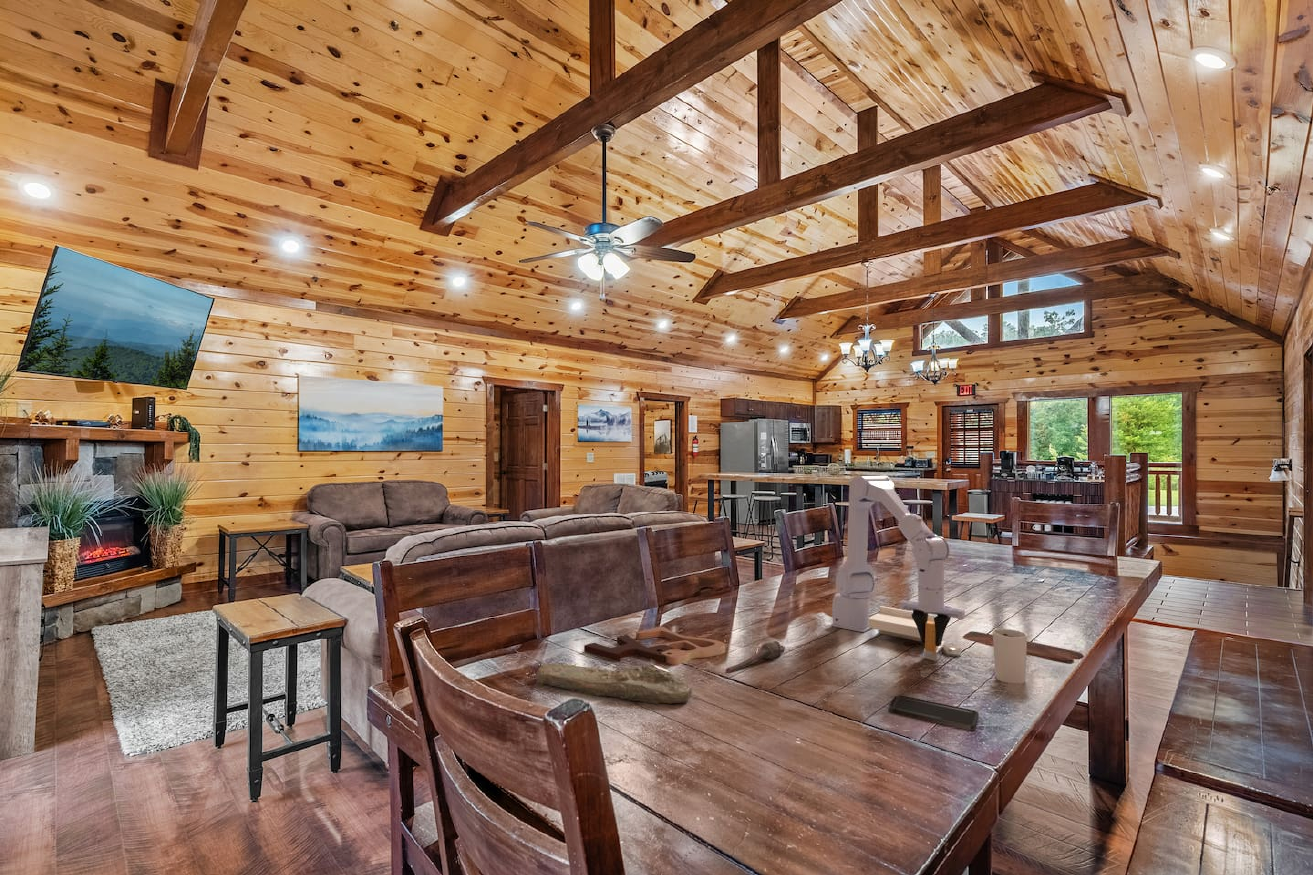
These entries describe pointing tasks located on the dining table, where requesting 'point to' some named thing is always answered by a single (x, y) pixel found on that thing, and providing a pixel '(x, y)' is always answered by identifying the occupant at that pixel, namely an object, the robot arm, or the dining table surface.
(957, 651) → the disc
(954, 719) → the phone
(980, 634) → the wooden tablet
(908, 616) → the cream shelf
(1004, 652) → the white cup
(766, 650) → the natural artifact
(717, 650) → the wood carving
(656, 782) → the dining table surface
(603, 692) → the elongated rock
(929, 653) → the blade tool
